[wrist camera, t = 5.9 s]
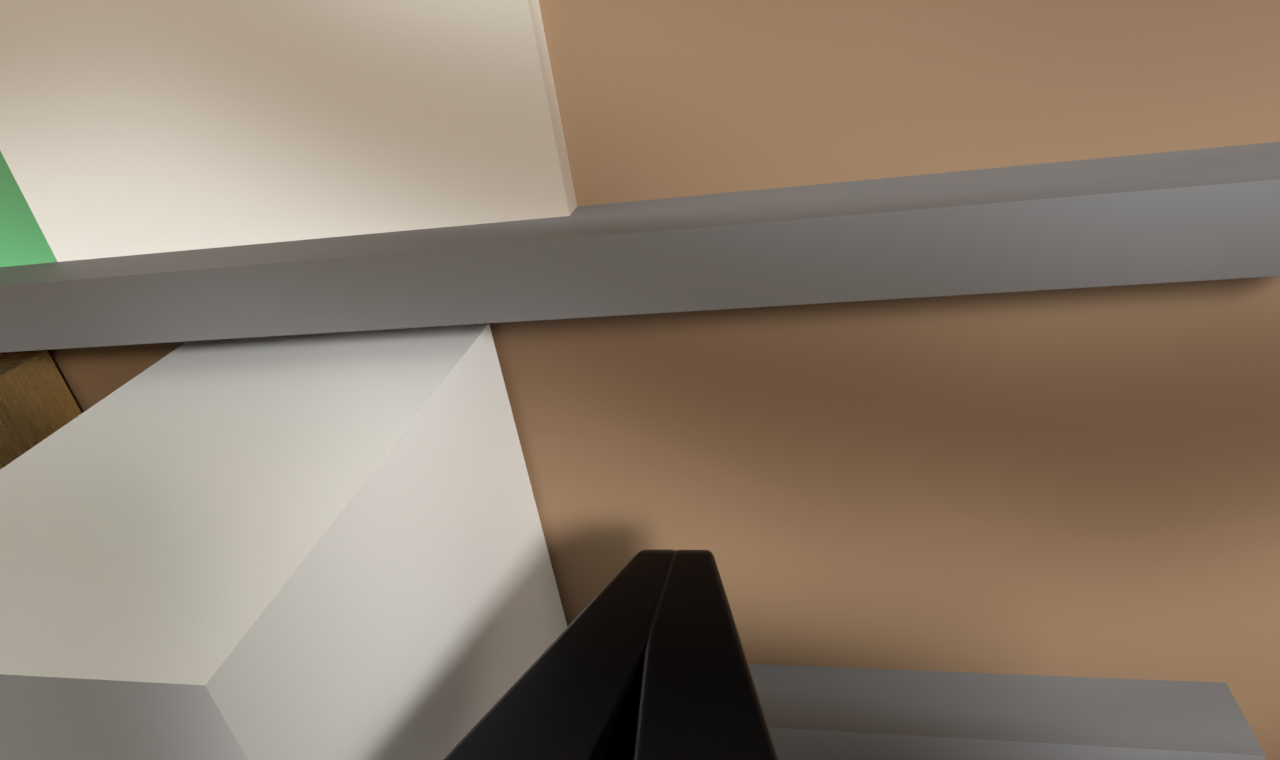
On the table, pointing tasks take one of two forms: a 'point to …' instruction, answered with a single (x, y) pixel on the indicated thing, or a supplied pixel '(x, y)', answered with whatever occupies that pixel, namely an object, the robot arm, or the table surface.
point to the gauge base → (752, 310)
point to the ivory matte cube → (275, 556)
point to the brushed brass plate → (31, 402)
